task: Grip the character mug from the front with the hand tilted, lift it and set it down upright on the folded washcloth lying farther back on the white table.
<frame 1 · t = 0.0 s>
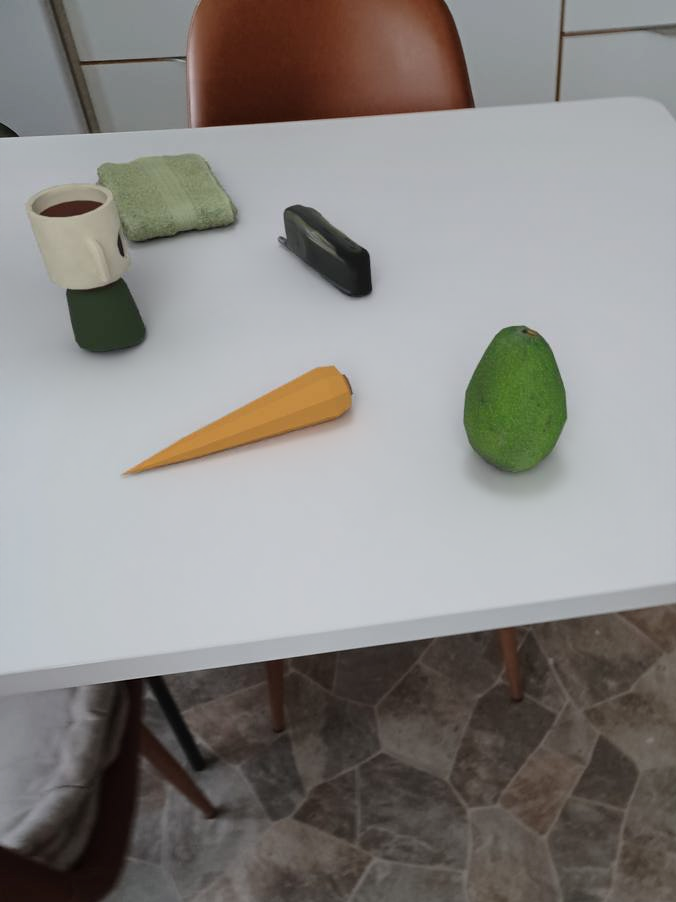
black stapler: (324, 271, 99), on the table
carrot: (239, 441, 80), on the table
washcloth: (167, 208, 108), on the table
character mug: (113, 342, 90), on the table
avocado: (513, 463, 78), on the table
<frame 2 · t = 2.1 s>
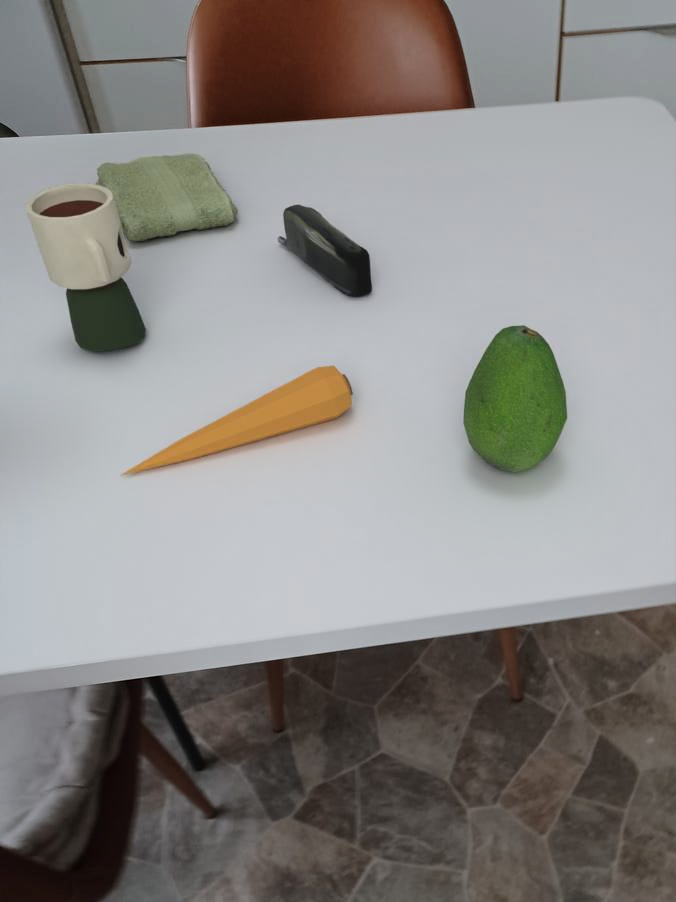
nothing on the table moved.
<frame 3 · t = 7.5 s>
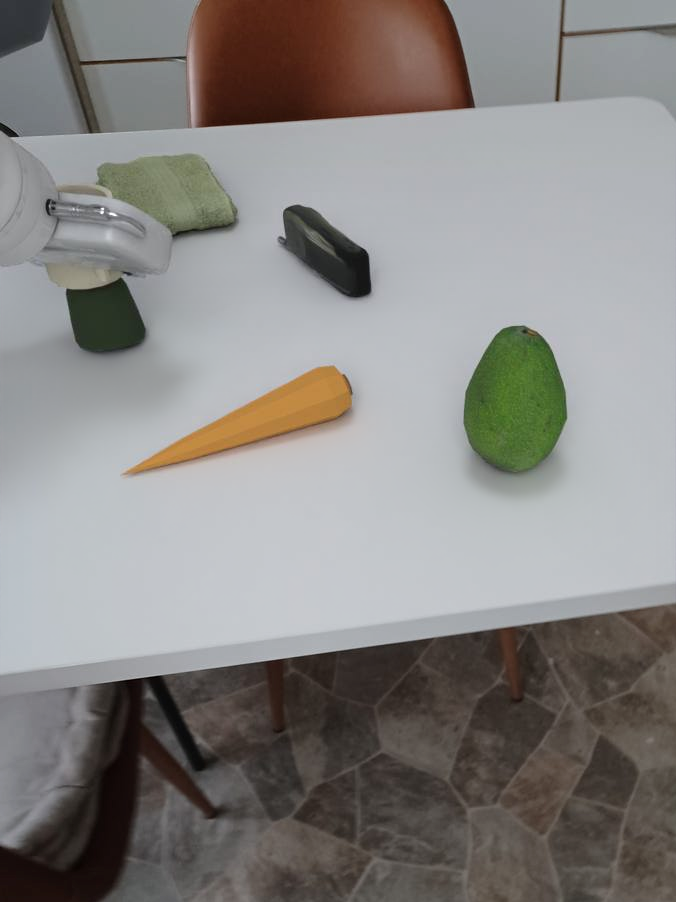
hand: (92, 263, 84), 7 cm above the table, tool tilted 45°, fingers closed on character mug, 7 cm apart
character mug: (113, 342, 90), on the table, touching gripper
everything else where it was.
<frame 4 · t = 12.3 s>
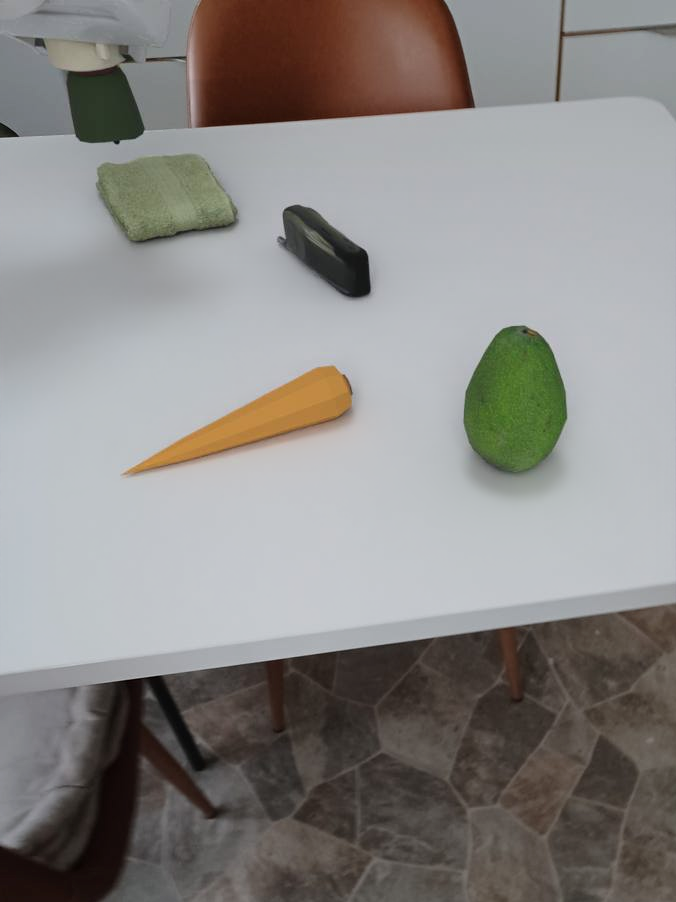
hand: (93, 51, 86), 19 cm above the table, tool tilted 45°, fingers closed on character mug, 7 cm apart
character mug: (112, 141, 91), point 12 cm above the table, touching gripper
everything else where it was.
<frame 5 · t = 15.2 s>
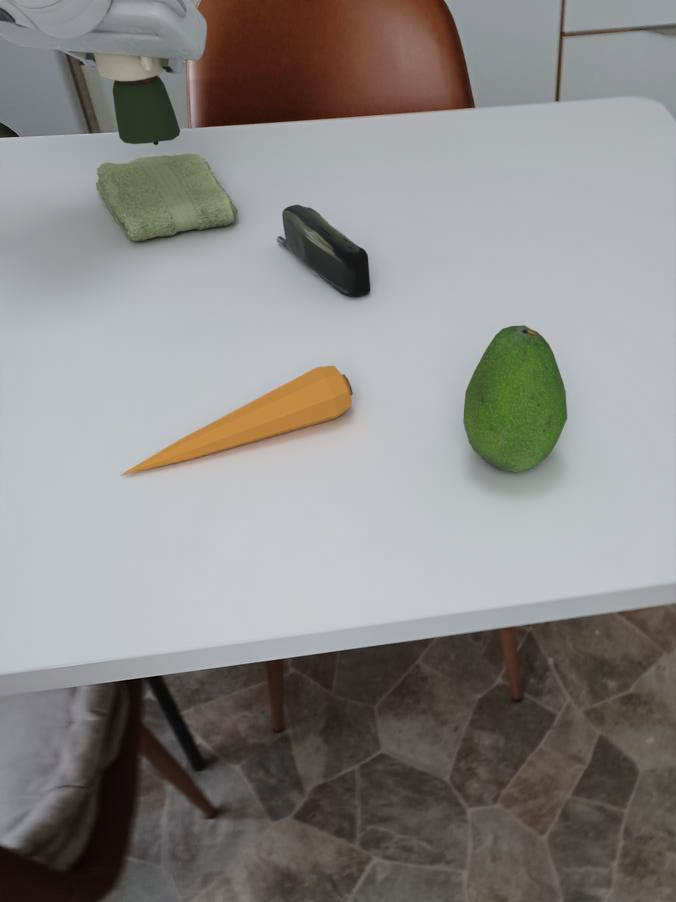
hand: (136, 63, 98), 14 cm above the table, tool tilted 45°, fingers closed on character mug, 7 cm apart
character mug: (152, 142, 103), point 7 cm above the table, touching gripper
everything else where it was.
when the fingers open (10 cm above the table, at t = 17.0 s): character mug stays where it is, resting on washcloth.
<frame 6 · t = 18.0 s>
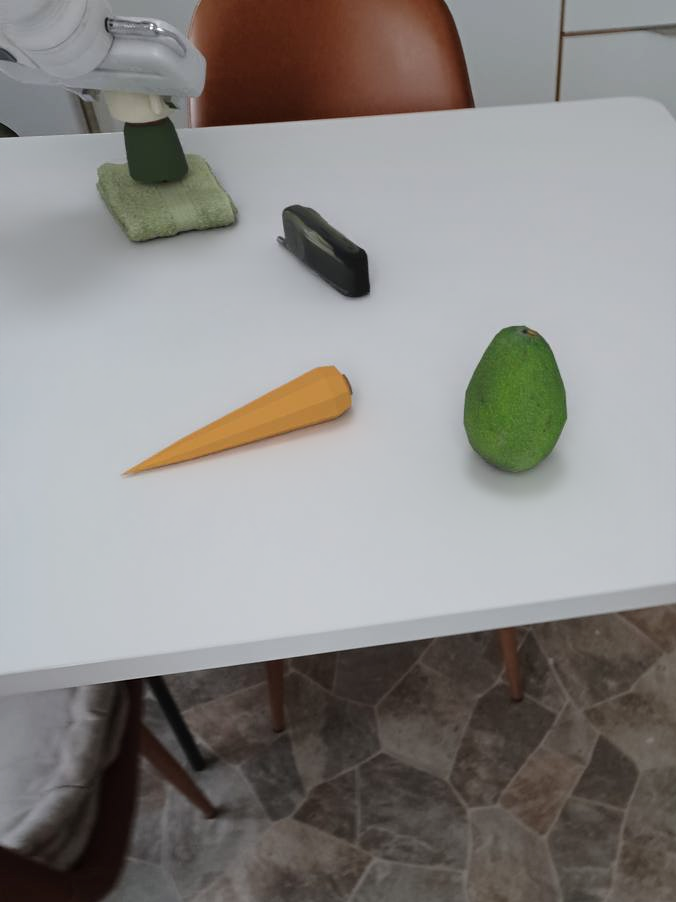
hand: (136, 98, 99), 12 cm above the table, tool tilted 45°, fingers open, 8 cm apart
washcloth: (167, 208, 108), on the table, touching character mug
character mug: (161, 179, 106), point 3 cm above the table, touching washcloth
everything else where it was.
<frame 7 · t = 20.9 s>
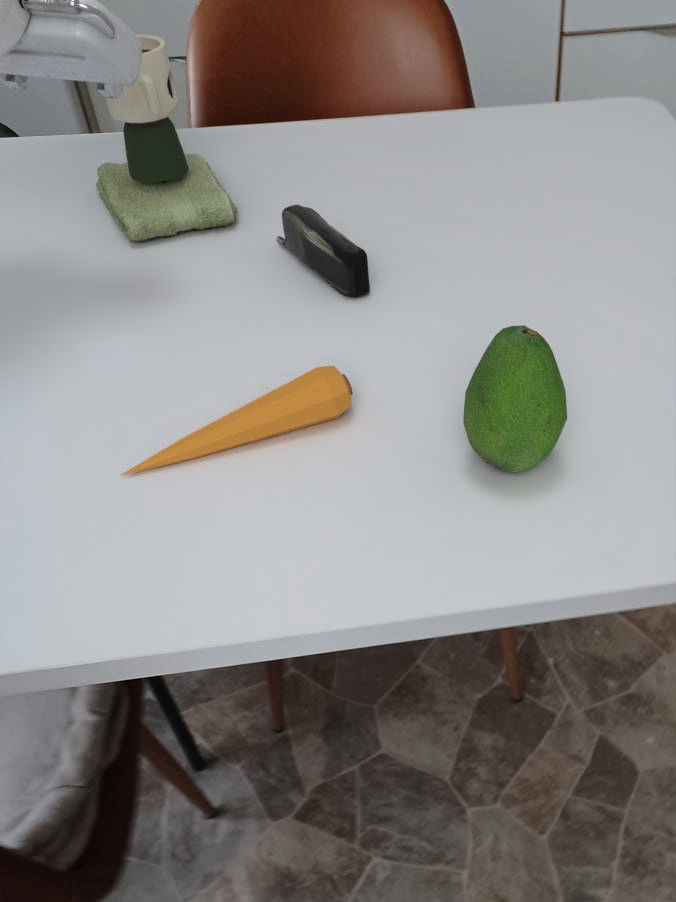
hand: (67, 86, 88), 16 cm above the table, tool tilted 45°, fingers open, 8 cm apart
nothing on the table moved.
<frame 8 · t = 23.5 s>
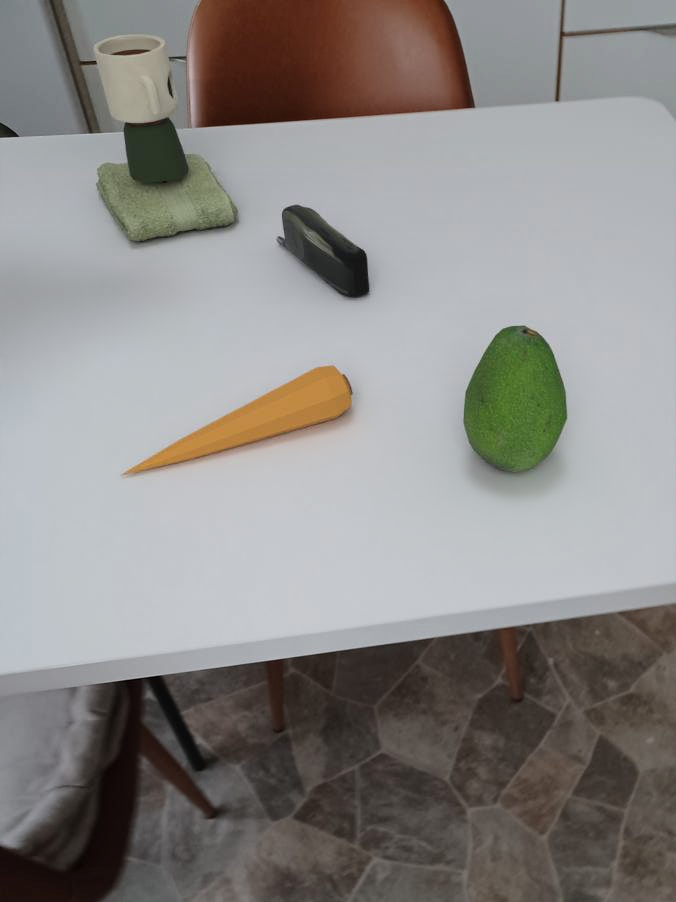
nothing on the table moved.
at the end: character mug inside the target area on the washcloth (0.1 cm from its centre), point 3.2 cm above the washcloth's base; character mug tilted 0°; the gripper is holding nothing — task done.
